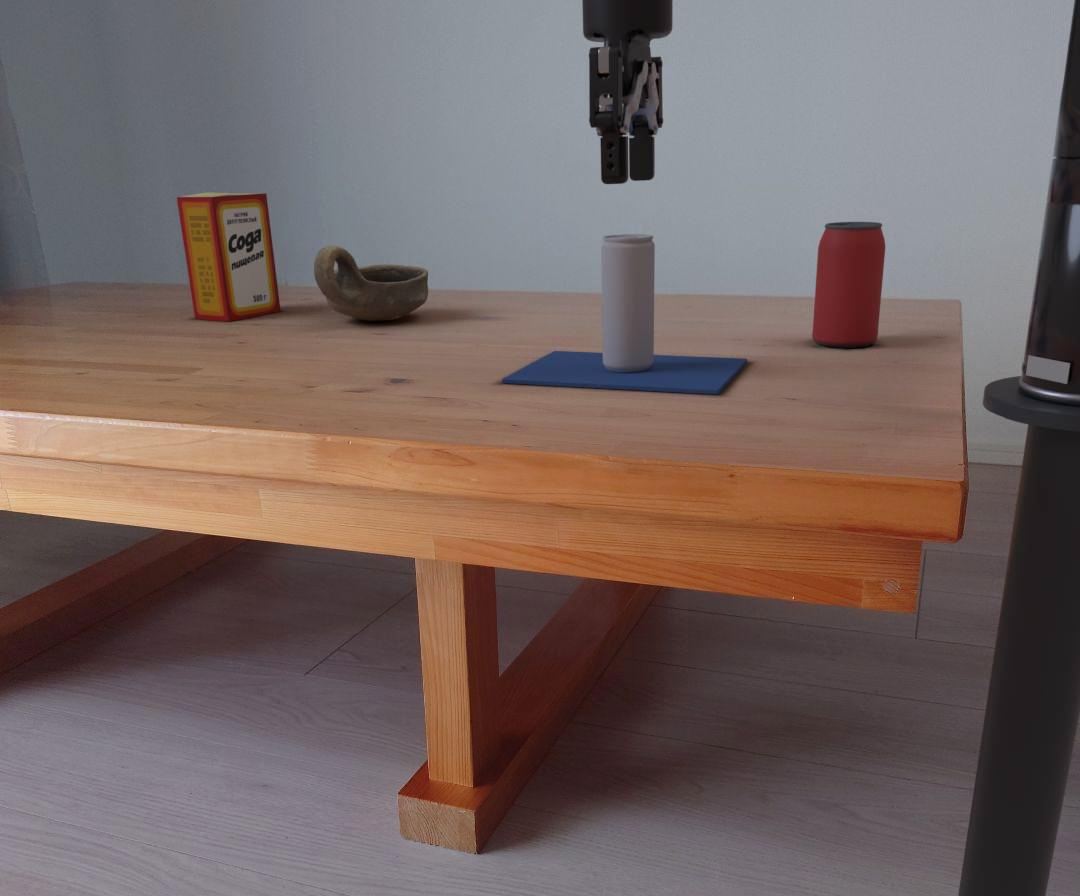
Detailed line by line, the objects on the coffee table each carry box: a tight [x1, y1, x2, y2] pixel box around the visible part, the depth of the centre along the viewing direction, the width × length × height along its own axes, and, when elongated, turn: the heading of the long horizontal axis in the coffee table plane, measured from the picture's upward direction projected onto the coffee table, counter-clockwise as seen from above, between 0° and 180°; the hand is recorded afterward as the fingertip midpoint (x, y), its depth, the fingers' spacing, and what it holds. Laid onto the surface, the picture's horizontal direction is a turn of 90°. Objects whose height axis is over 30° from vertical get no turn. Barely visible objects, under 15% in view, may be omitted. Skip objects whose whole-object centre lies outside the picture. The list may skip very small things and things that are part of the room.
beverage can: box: [600, 233, 656, 373], centre depth 93 cm, size 5×5×12 cm
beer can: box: [811, 221, 886, 349], centre depth 103 cm, size 7×7×12 cm
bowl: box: [313, 245, 429, 322], centre depth 128 cm, size 14×18×10 cm
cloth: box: [501, 350, 748, 395], centre depth 95 cm, size 20×14×1 cm
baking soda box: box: [176, 192, 281, 322], centre depth 136 cm, size 10×6×16 cm
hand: (629, 182), depth 89 cm, fingers open, 8 cm apart
